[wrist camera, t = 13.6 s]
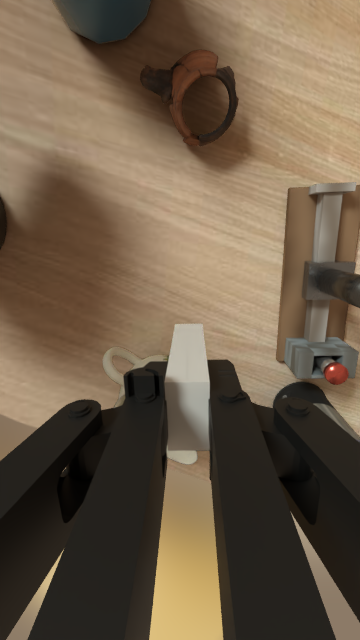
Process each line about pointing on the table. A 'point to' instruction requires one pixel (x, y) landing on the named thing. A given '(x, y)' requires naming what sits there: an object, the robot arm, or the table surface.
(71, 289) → the table surface
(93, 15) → the wine bottle
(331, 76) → the table surface
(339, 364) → the red ball knob
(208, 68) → the broken pottery
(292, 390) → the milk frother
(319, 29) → the table surface
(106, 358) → the pitcher
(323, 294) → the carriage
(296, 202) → the rail base
